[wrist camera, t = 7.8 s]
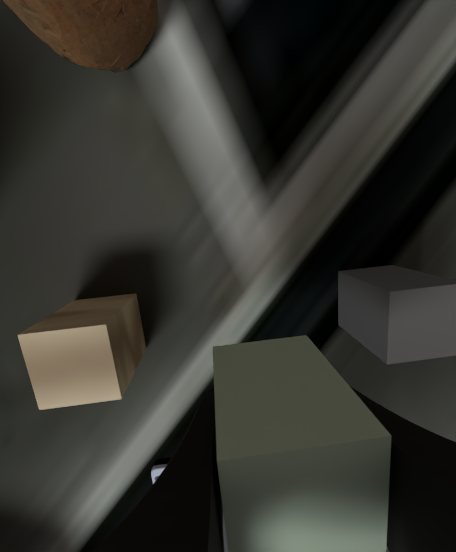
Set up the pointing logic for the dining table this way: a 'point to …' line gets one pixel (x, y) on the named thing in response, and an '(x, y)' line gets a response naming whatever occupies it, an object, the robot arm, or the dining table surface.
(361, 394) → the robot arm
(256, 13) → the dining table surface
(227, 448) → the sage block
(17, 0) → the brown rough elongated lump
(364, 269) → the charcoal block
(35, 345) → the beech block
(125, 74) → the dining table surface
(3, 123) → the dining table surface
